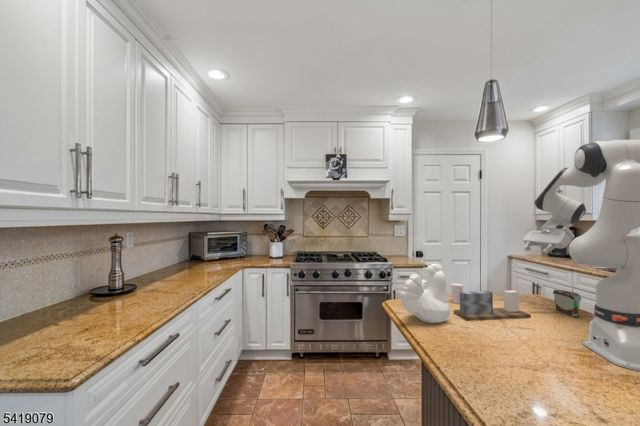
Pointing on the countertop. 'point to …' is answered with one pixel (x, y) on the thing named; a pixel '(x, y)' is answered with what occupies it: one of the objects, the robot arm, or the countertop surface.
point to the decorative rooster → (427, 295)
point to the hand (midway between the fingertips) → (534, 251)
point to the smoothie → (456, 291)
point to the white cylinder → (511, 301)
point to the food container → (567, 302)
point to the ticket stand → (483, 308)
